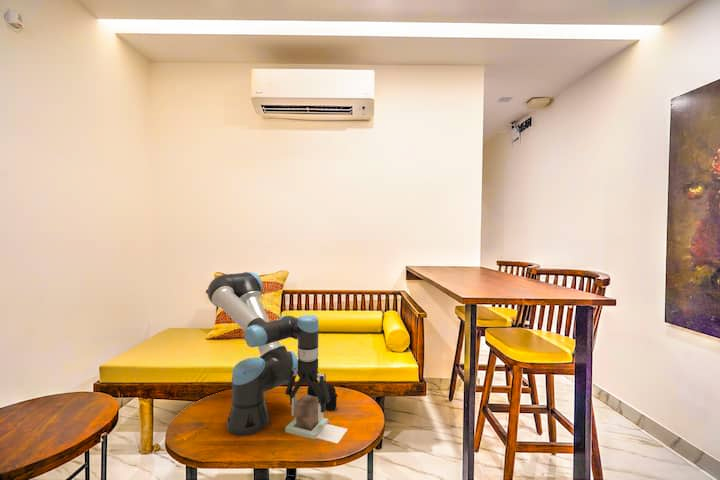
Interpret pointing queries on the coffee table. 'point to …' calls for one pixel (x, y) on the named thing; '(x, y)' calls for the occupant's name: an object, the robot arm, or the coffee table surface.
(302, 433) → the pocket board
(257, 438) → the coffee table surface
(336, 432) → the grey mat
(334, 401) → the film camera
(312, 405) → the walnut block
